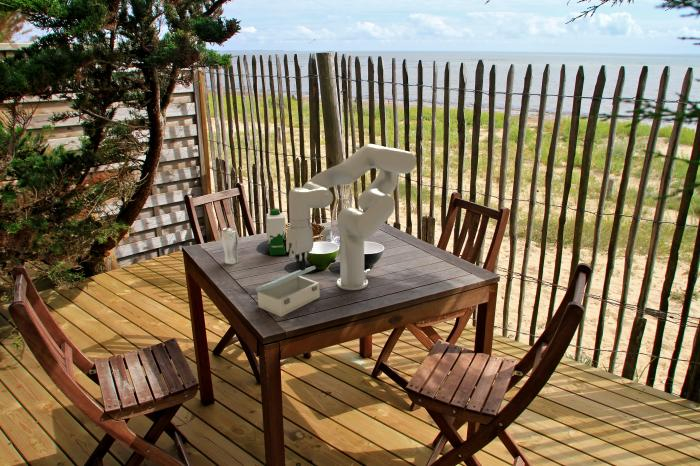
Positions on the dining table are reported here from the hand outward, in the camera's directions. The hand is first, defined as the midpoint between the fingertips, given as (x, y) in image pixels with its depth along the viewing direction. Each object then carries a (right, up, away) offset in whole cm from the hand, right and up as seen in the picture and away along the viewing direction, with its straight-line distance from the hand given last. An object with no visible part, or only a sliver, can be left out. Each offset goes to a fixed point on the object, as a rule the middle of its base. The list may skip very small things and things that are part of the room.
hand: (301, 269), depth 195 cm
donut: (+9, +6, +55) cm, 56 cm away
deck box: (-4, -12, +1) cm, 13 cm away
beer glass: (-35, 0, +39) cm, 52 cm away
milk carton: (-16, +4, +50) cm, 52 cm away
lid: (-5, -4, -1) cm, 7 cm away
